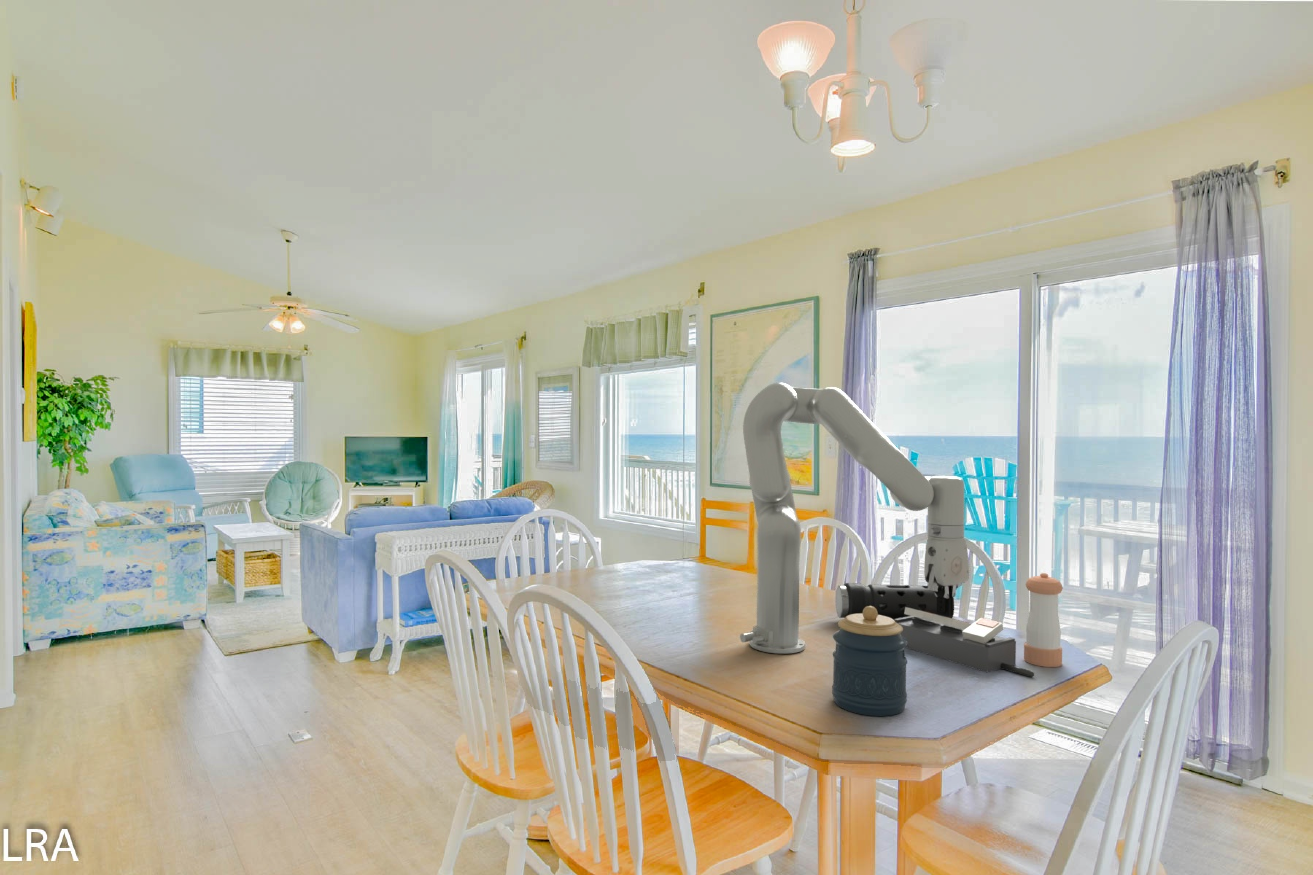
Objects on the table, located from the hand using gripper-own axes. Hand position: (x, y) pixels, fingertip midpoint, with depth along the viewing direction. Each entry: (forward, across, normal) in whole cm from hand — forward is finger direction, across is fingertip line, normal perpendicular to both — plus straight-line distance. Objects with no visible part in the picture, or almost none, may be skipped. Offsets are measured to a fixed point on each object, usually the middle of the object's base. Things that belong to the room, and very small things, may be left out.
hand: (945, 614), depth 161 cm
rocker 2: (+2, +3, 0) cm, 3 cm away
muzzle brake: (+9, +13, +24) cm, 29 cm away
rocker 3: (+2, +3, -7) cm, 8 cm away
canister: (+9, -37, -11) cm, 40 cm away
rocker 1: (+2, +3, +8) cm, 8 cm away
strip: (+9, +3, -3) cm, 10 cm away
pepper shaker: (+9, +15, -14) cm, 22 cm away
